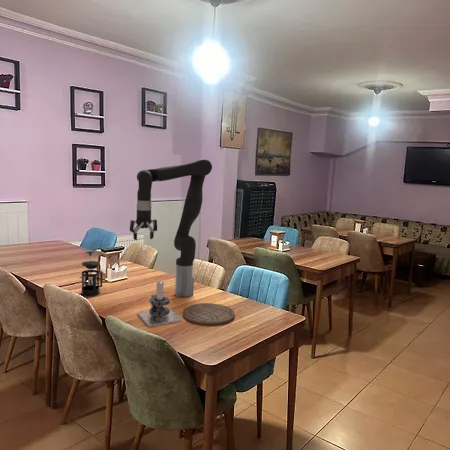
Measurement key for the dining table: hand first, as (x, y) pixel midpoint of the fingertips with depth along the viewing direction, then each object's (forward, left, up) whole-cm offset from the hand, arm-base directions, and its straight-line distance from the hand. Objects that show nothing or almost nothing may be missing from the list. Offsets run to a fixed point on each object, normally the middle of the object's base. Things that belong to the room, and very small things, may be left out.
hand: (143, 239), depth 215 cm
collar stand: (+3, +33, -31) cm, 45 cm away
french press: (+24, -13, -31) cm, 41 cm away
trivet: (-20, +39, -31) cm, 54 cm away
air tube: (+3, +33, -30) cm, 45 cm away
